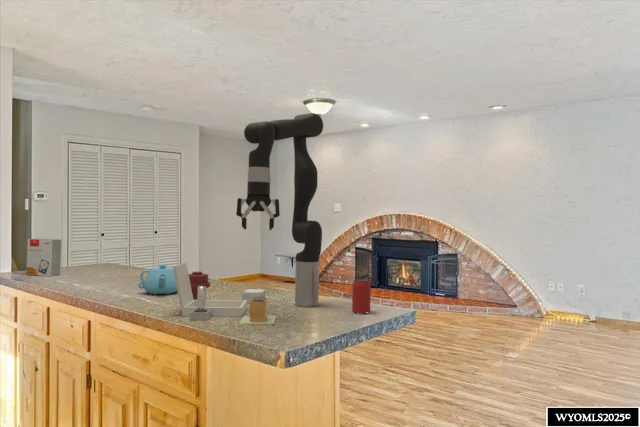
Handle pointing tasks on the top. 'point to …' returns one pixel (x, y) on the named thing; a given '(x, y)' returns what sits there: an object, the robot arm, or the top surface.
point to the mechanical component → (198, 282)
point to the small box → (252, 294)
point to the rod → (201, 298)
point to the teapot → (159, 280)
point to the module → (258, 309)
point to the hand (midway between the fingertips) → (257, 229)
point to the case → (211, 306)
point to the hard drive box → (43, 257)
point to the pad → (268, 321)
